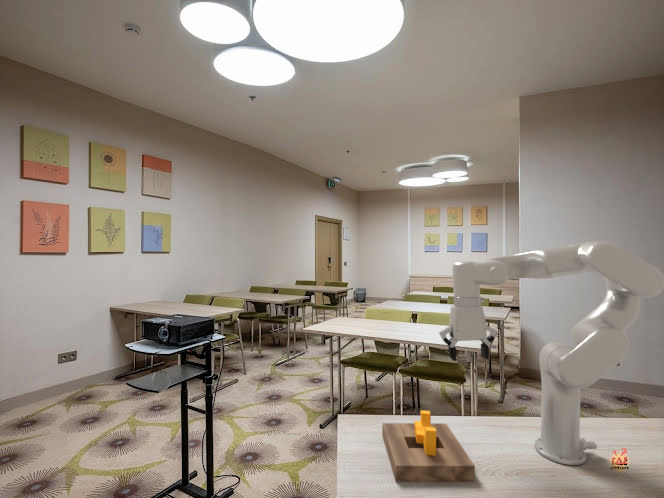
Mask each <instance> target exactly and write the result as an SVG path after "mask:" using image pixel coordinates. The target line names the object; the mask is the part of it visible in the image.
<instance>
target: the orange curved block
mask: <svg viewBox="0 0 664 498" xmlns="http://www.w3.org/2000/svg"><path fill="white" fill-rule="evenodd" d="M431 419H432V418H431V411H430V410H422V409H421V410H420V420H414V432H415V437H416V442H417V443H421V444H423V445H424V449H425V453H426V455H435V456H436V429H435V428H433V427H431V423H432V422H431V421H432V420H431Z"/></svg>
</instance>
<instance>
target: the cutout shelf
mask: <svg viewBox="0 0 664 498" xmlns="http://www.w3.org/2000/svg"><path fill="white" fill-rule="evenodd" d="M381 425H382V426H381V427H382V433H381V434H382V435H381V436H382V439H383V444H384V447H385V449H386V453H387V457H388V460H389V463H390V467H391V470H392V473H393V476H394V477H393V478H394V481H395V483H396V482H397V483H398V482H409V483H410V482H415V483H416V482H417V483H418V482H421V483H423V482H427V483H428V482H430V483H431V482H436V483H437V482H441V483H443V482H445V483H446V482H447V483H449V482H454V483H455V482H459V483H460V482H462V483H463V482H466V483H470V482H471V483H473V482H475V479H476V477H475V476H476V475H475V473H476V472H475V471H476V468H475V467H476V465H475V464H474V462H473V461H472V459H471V458H470V457H469V455H468V454H467V452H466V451H465V449H464V447H463V446H462V445H461V443H460V442H459V440H458V439H457V437H456V435H455V434H454V433H453V431H452V429H450V427H449V425H448V424H447V423H436V422H435V423H433V422H431V427H433V428H435V429H436V456H435V455H426V453H425V449H424V445H423V444H421V443H417V442H416V437H415V432H414V423H412V422H411V423H410V422H409V423H408V422H407V423H406V422H405V423H404V422H401V423H397V422H395V423H394V422H393V423H392V422H388V423H387V422H385V423H382V424H381Z"/></svg>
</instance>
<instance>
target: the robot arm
mask: <svg viewBox="0 0 664 498" xmlns="http://www.w3.org/2000/svg"><path fill="white" fill-rule="evenodd" d="M585 273H595V274H596V273H597V274H599V275H600V276H603V277H604V282H605V287H606V292H605V293H606V294H605V296H604V298H603V300H602V302H601V303H600V304H599V305H598V306H597V307H596V308H594V309H593V310H591V312H589V313H588V314H587V315H586V316H584V318H583V319H581V320H580V321H578V322H577V323H576V324H575V325H574V326H573V328H572V329H571V333H570V337H571V340H572V341H573V343H574V344H575V347H572V346H570V345H569V344H567V343H564V342H562V341H561V342H559V341H552V342H549V343H547V344H545V345H543V348H542V349H541V350H540V353H539V357H538V358H539V359H538V360H539V370H540V376H541V377H540V379H541V380H540V381H541V400H540V401H541V405H540V418H541V419H540V438H537V439H535V441H534V449H535V450H536V452H538V453H539V454H540V455H541V456H543V457H545V458H546V459H548V460H550V461H553V462H556V463H560V464H563V465H571V466H578V465H583V464H584V463H586V460H587V455H586V453H585V451H586V450H597V449H598V445H597V443H596V442H595V441H587V440H586V438H584V437H581V436H580V435H581V427H580V426H581V389H585V388H588V387H590V386H592V385H593V384H595V383H596V382H597V381H599V380H600V379H601V378H602V377H604V376H605V375H606V374H608V373H609V372H610V371H611V370H612V369H614V368H615V367H617V366H618V365H619V364H620V363H621V362H622V361H623V360H624V359H625V358H626V356H627V355H628V353H629V350H630V346H631V345H630V339H629V337H628V335H627V334H626V333H625V331H626V330H627V329H628V328H629V327H630V326H631V325H632V324H633V323H634V322H635V321H636V320H637V318H638V317H639V314H640V311H641V298H652V297H655V296H658V295H659V294H661V292H663V290H664V273H662V271H661V270H659V269H658V268H657V267H656V266H655V265H653V264H651V263H649V262H647V261H645V259H644V260H643V259H642V258H639V257H638V256H636V255H634V254H633V253H630V252H629V251H627V250H626V249H623V248H621V247H620V246H617V245H616V244H614V243H610V242H607V241H586V242H585V241H584V242H580V243H579V242H578V243H574V244H566V245H562V246H556V247H549V248H544V249H543V248H541V249H538V250H531V251H527V252H523V253H516V254H515V253H514V254H510V255H504V256H498V257H492V258H485V259H484V260H482V261H480V262H478V261H477V262H476V261H473V260H472V261H471V260H465V261H456V262H454V263H453V264H452V287H453V305H451V306H450V310H449V311H450V312H449V320H448V321H449V322H448V323H449V324H448V325H449V326H447V327H446V328H444V329H442V330H441V331H439V336H440V338H441V339H442V341H443V342H444V343H445V344H446V345H447V346H448V356H449V358H450V359H451V360H452V361H453V362H456V361H457V348H456V345H457V343H458V342H468V341H480V342H481V344H480V356H481V357H482V358H483V359H485V360H489V356H490V348H489V347H490V346H491V343H492V342H493V341H494V340H495V337H496V335H497V332H498V330H496V329H494V328H492V327H490V326H488V325H487V321H486V316H485V310H484V308H483V306H482V303H485V297H481V285H482V286H491V287H499V286H502V285H504V284H505V283H507V282H508V280H514V279H515V280H516V279H535V280H540V279H542V280H543V279H552V278H560V277H565V276H572V275H578V274H585ZM487 331H488V332H489V334H488V333H487ZM447 335H449V337H450V338H449V339H448V337H447ZM487 335H488V336H487Z"/></svg>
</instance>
